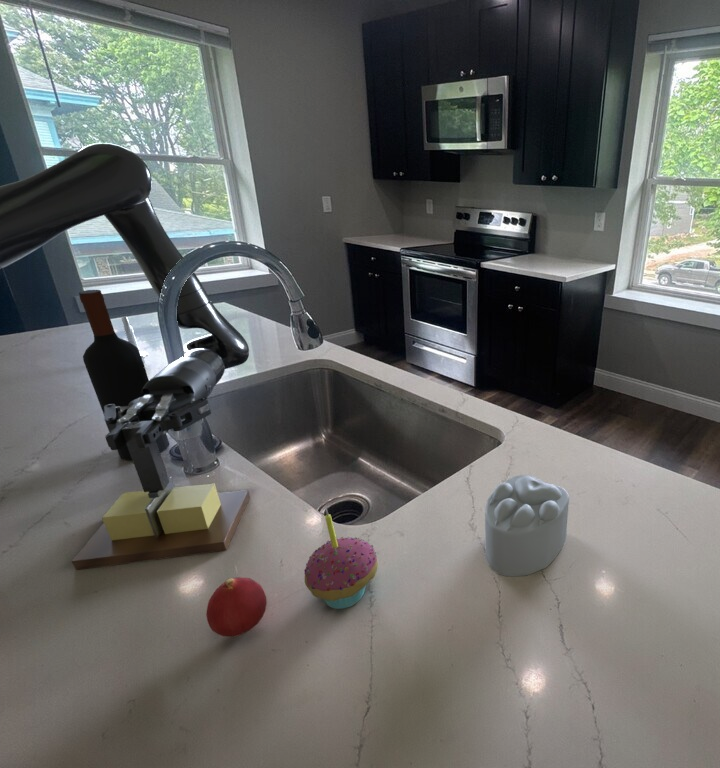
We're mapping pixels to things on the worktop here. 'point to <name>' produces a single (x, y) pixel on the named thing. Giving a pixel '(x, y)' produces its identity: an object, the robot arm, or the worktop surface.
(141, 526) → the butter
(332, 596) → the cupcake
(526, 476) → the lumpy-topped squat cylinder
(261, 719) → the worktop surface
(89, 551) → the butter board
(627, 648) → the worktop surface
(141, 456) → the knife
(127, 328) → the screw
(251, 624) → the onion
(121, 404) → the wine bottle
